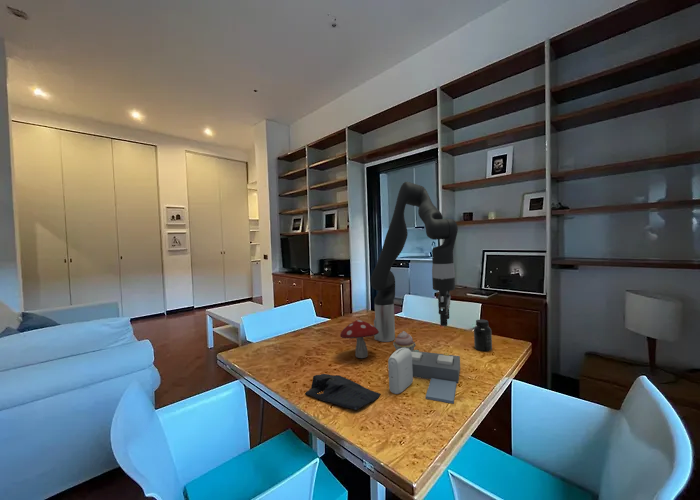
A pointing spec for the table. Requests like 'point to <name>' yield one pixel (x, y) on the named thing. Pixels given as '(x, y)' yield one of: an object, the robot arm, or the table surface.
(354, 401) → the folded black shirt
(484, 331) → the supplement bottle
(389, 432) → the table surface
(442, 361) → the right switch
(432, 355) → the switch box
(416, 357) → the left switch
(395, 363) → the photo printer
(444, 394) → the pad
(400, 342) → the cupcake
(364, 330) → the decorative mushroom
